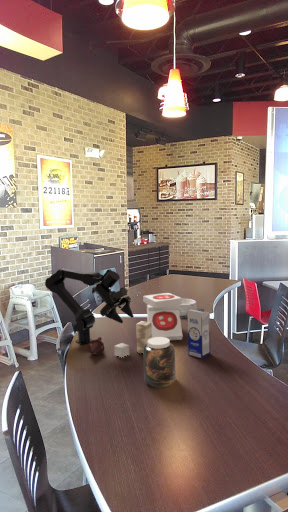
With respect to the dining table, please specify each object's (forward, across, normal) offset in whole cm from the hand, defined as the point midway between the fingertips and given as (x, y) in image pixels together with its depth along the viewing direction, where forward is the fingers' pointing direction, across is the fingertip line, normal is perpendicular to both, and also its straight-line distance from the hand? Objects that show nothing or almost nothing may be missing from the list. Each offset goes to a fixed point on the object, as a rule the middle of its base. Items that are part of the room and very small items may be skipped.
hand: (127, 319), depth 167 cm
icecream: (+3, -11, +17) cm, 20 cm away
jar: (+29, -23, -9) cm, 38 cm away
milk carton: (+32, +6, -12) cm, 35 cm away
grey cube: (+10, -8, +9) cm, 16 cm away
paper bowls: (+11, +63, +9) cm, 65 cm away
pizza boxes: (+14, +25, +6) cm, 29 cm away
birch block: (+15, 0, +4) cm, 16 cm away
